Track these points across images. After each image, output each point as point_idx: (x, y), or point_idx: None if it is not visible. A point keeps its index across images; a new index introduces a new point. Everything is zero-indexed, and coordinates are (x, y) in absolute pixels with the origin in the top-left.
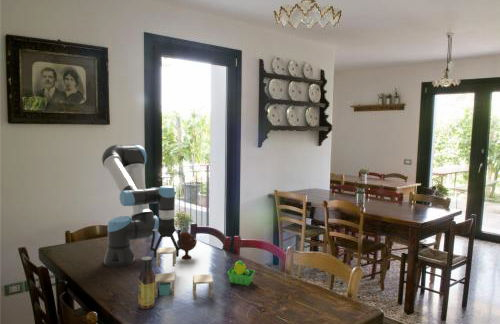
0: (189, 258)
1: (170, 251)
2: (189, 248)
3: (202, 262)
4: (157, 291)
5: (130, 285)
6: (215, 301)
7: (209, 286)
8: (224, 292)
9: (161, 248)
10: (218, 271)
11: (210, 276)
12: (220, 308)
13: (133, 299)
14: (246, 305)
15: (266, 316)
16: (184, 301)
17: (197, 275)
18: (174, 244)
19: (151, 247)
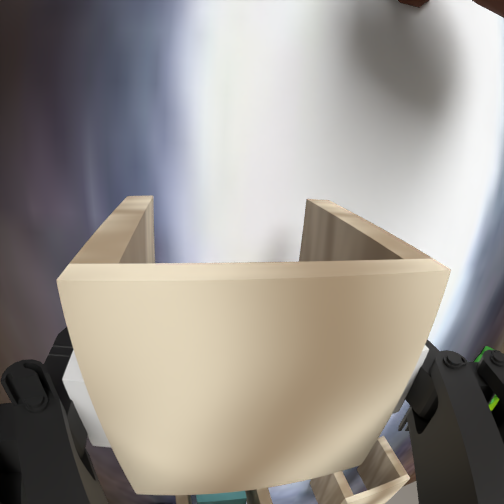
0: (422, 3)
1: (318, 463)
2: (493, 11)
3: (478, 106)
4: (190, 497)
5: None
6: (359, 477)
7: (378, 468)
8: (407, 438)
9: (149, 345)
10: (490, 271)
11: (397, 489)
12: (353, 491)
13: (110, 488)
14: (407, 468)
15: (408, 481)
16: (279, 494)
17: (362, 499)
18: (427, 490)
19: (7, 489)
